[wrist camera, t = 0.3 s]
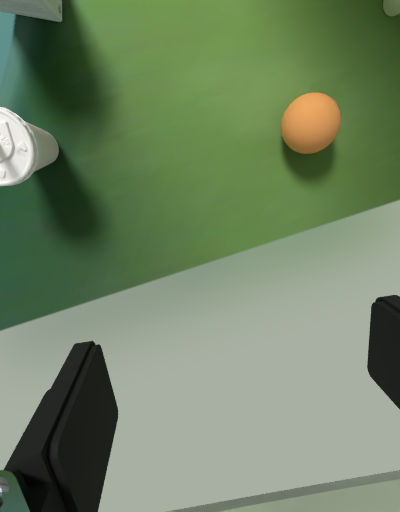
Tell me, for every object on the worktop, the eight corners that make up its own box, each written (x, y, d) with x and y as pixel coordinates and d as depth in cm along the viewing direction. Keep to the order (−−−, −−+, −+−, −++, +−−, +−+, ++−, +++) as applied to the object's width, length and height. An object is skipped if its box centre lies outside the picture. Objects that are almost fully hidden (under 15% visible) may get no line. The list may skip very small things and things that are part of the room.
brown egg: (278, 94, 34) (299, 83, 28) (329, 100, 34) (359, 91, 29) (269, 151, 36) (287, 151, 30) (317, 155, 36) (344, 156, 31)
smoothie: (82, 142, 34) (24, 138, 21) (52, 188, 35) (-20, 212, 22) (29, 102, 32) (-71, 70, 19) (0, 152, 34) (-112, 154, 20)
